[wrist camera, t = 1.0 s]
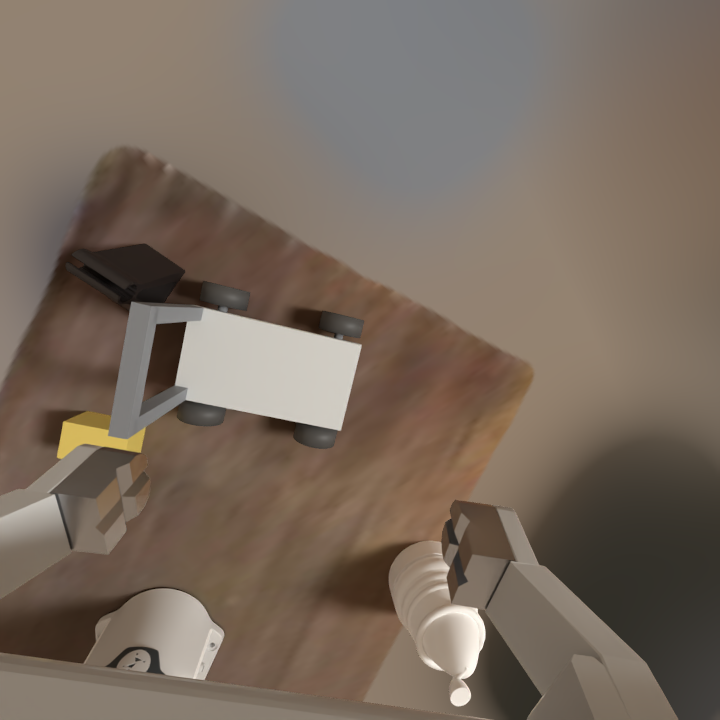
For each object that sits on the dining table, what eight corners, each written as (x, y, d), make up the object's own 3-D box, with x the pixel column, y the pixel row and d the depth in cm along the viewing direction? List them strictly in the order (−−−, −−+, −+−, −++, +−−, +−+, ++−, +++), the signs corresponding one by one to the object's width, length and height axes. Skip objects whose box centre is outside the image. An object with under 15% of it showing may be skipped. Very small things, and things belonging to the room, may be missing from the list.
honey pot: (432, 621, 62) (478, 745, 44) (373, 587, 60) (397, 704, 42) (476, 563, 62) (540, 665, 44) (418, 527, 59) (461, 618, 42)
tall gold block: (140, 454, 52) (122, 469, 48) (81, 443, 51) (56, 457, 46) (147, 422, 52) (129, 434, 47) (87, 410, 51) (63, 421, 46)
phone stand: (149, 323, 50) (98, 327, 38) (110, 297, 49) (44, 293, 37) (186, 271, 50) (145, 258, 38) (147, 244, 49) (92, 222, 37)
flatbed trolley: (361, 320, 53) (389, 325, 33) (333, 436, 55) (342, 510, 35) (210, 282, 50) (138, 263, 30) (186, 408, 52) (101, 470, 32)
